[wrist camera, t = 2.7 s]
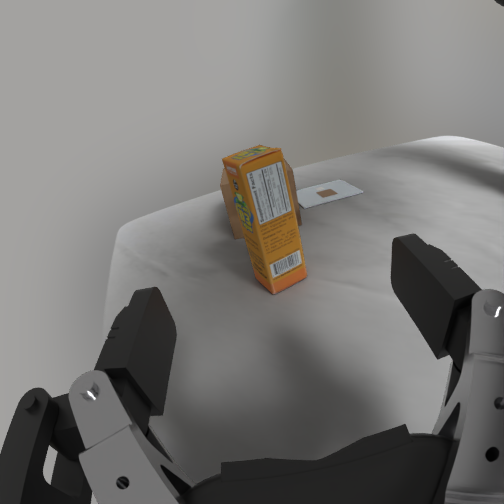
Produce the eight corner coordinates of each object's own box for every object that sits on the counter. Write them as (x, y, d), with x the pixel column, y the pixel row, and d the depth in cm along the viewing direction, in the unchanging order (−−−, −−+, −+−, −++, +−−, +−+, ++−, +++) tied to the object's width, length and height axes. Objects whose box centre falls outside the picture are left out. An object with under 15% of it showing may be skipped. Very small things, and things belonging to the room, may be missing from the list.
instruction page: (340, 180, 40) (340, 178, 40) (363, 192, 35) (363, 190, 35) (287, 194, 39) (286, 192, 39) (304, 208, 34) (303, 206, 34)
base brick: (290, 202, 37) (282, 155, 34) (301, 226, 31) (292, 169, 28) (235, 214, 37) (223, 168, 34) (235, 240, 31) (220, 185, 28)
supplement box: (250, 278, 24) (218, 156, 19) (286, 261, 25) (263, 143, 20) (270, 298, 22) (237, 161, 17) (309, 279, 23) (288, 146, 18)
